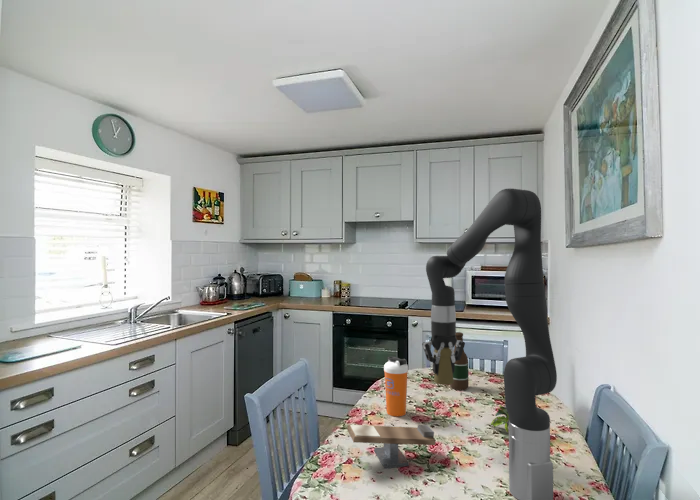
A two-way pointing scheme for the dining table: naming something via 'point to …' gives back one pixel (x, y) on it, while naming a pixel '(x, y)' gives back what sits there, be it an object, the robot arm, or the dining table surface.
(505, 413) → the passion flower
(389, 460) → the pivot stand
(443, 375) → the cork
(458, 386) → the beer bottle
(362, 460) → the dining table surface
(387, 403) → the shaker bottle
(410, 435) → the seesaw board
